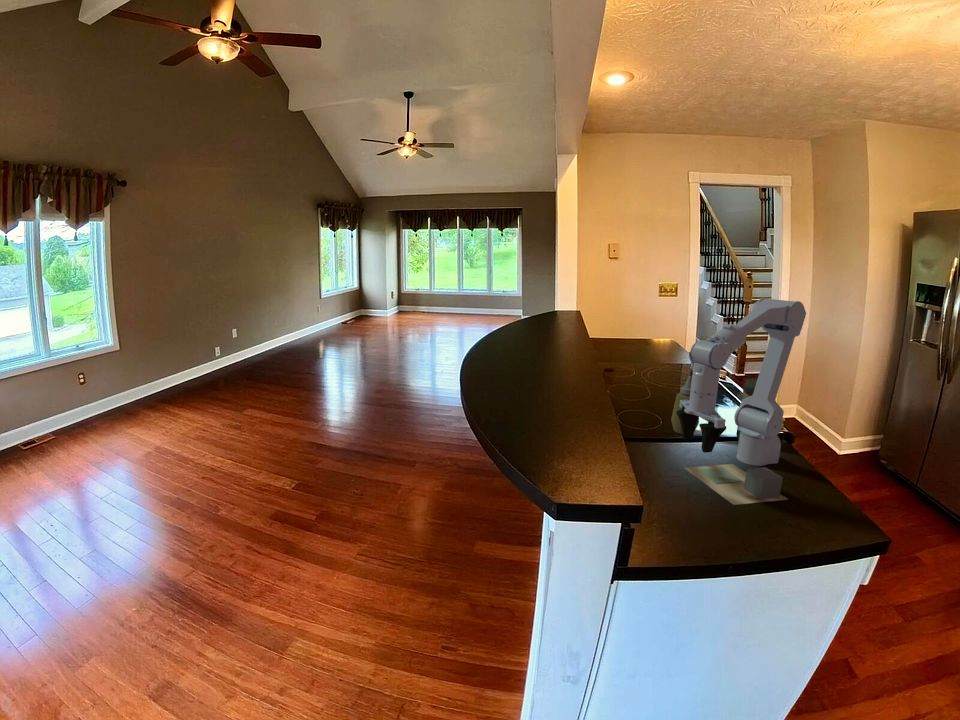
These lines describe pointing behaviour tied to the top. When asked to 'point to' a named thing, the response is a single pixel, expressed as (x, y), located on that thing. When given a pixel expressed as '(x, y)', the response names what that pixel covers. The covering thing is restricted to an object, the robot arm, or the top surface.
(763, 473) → the grey matte cube
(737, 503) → the board
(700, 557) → the top surface
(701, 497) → the top surface
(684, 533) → the top surface
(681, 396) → the squeeze bottle
